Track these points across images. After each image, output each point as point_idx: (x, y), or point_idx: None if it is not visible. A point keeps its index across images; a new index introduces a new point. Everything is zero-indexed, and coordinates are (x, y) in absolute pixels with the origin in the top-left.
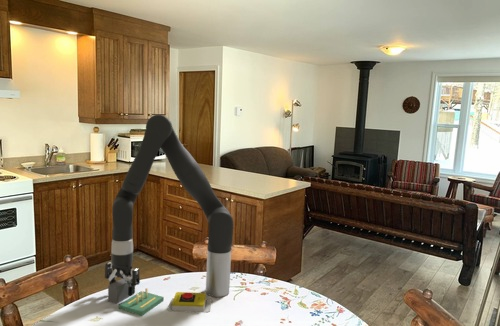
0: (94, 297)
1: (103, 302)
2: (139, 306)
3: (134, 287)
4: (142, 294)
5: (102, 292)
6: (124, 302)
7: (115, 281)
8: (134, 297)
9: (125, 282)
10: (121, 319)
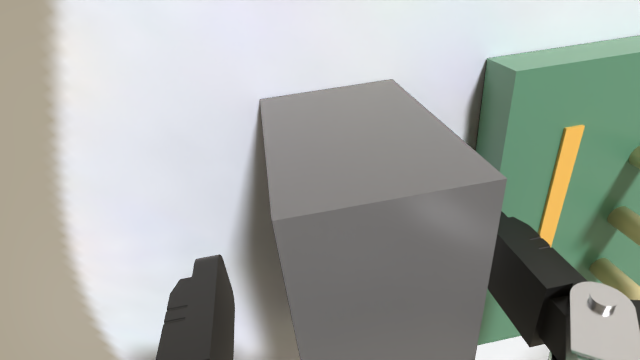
0: (144, 349)
1: (283, 341)
2: (633, 278)
3: (572, 271)
4: None
5: (91, 275)
6: (489, 312)
7: (214, 340)
8: (521, 220)
9: (454, 354)
10: (542, 357)
